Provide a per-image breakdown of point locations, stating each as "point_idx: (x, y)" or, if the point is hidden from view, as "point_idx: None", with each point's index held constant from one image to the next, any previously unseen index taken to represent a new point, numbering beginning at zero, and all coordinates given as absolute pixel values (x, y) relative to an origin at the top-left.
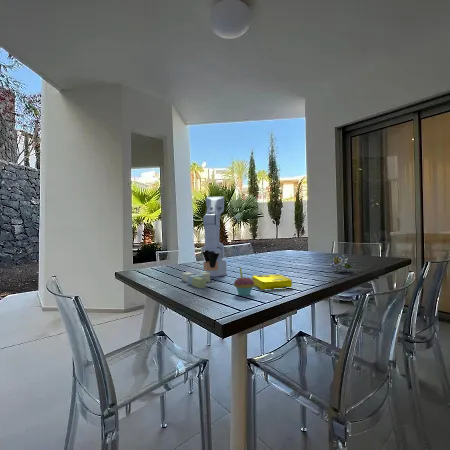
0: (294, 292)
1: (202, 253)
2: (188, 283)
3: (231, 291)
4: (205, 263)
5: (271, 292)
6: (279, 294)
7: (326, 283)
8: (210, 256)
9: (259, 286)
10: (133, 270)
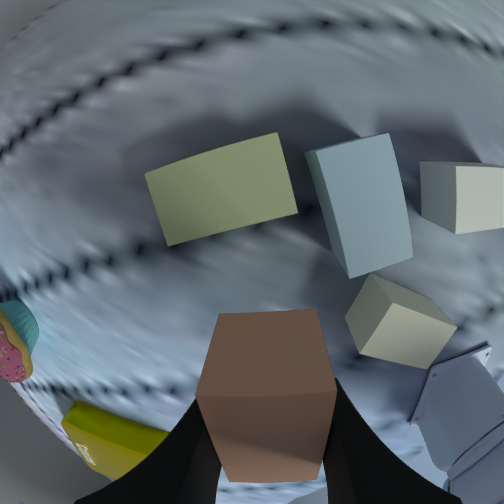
0: (58, 424)
1: (454, 502)
2: (361, 137)
3: (61, 307)
4: (248, 381)
5: (52, 395)
6: (36, 392)
7: None
8: (97, 491)
9: (92, 413)
10: None
